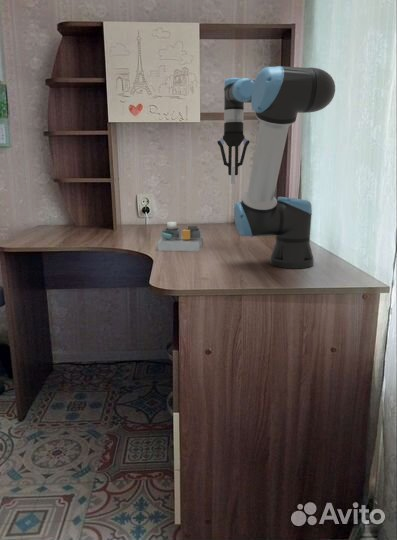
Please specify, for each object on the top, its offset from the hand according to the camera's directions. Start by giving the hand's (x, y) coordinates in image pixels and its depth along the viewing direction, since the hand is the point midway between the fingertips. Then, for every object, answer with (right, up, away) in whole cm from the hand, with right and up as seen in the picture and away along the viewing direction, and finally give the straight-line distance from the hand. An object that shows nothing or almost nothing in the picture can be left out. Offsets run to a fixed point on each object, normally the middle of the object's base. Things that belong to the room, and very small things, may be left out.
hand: (233, 183), depth 171 cm
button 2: (-16, -19, +11) cm, 27 cm away
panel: (-21, -25, +9) cm, 34 cm away
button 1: (-25, -17, +11) cm, 33 cm away
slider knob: (-19, -22, +4) cm, 29 cm away
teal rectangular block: (-27, -21, +4) cm, 34 cm away
